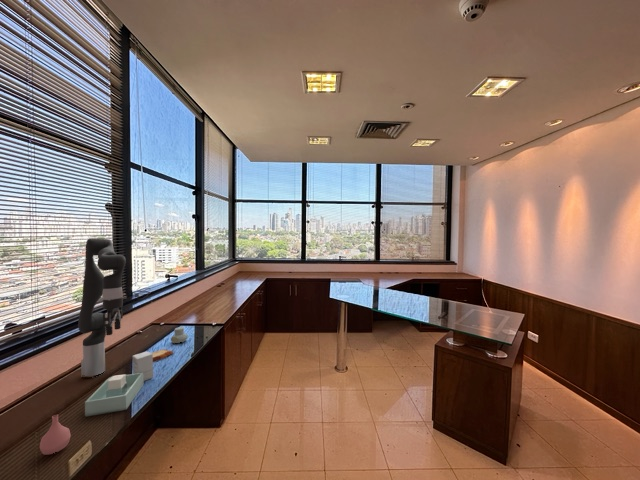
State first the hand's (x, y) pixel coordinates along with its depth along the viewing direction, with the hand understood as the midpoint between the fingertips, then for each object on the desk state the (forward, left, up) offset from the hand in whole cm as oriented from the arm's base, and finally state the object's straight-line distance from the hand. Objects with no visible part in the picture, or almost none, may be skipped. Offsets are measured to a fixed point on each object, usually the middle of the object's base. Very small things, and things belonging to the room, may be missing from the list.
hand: (113, 331), depth 126 cm
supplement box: (+7, +15, -30) cm, 35 cm away
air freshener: (+14, +68, -30) cm, 76 cm away
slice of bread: (+6, +42, -31) cm, 52 cm away
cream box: (+2, -3, -24) cm, 25 cm away
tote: (+2, -3, -30) cm, 30 cm away
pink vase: (-5, -33, -30) cm, 45 cm away
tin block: (+2, -3, -29) cm, 29 cm away
